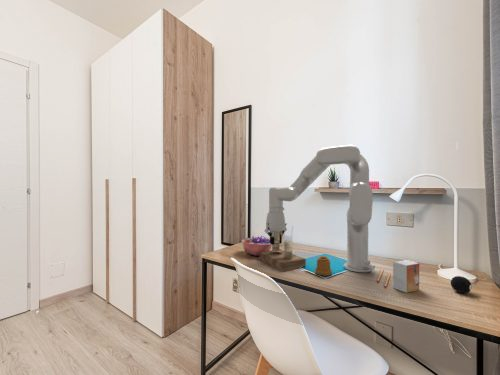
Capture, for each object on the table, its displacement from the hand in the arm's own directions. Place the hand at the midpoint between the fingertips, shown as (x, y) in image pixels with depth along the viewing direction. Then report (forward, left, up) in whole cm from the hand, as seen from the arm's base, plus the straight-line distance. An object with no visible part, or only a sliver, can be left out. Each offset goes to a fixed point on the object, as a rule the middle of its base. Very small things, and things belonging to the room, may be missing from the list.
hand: (275, 243), depth 132 cm
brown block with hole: (-5, 0, -9) cm, 11 cm away
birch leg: (0, 0, -4) cm, 4 cm away
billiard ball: (-67, -39, -10) cm, 78 cm away
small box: (-55, -24, -10) cm, 61 cm away
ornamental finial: (-27, -8, -10) cm, 30 cm away
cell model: (+15, +3, -10) cm, 18 cm away
